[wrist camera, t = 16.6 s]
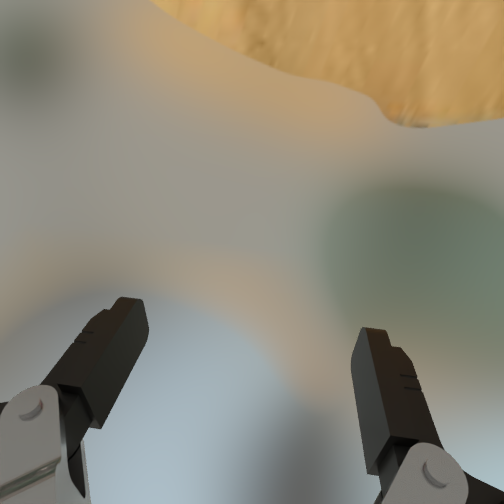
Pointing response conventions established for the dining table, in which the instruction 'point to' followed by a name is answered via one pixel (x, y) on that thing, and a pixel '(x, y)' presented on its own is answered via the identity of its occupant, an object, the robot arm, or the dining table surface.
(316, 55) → the dining table surface
